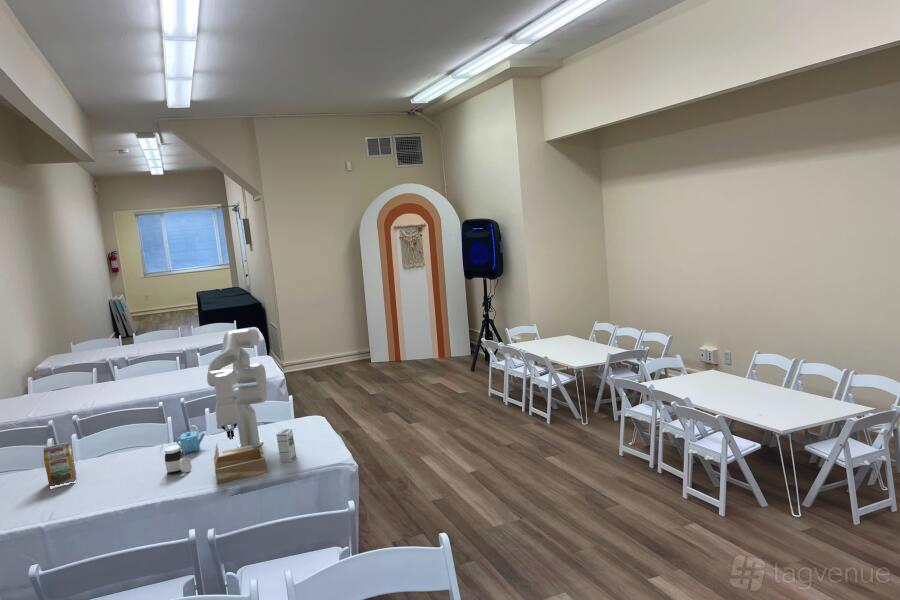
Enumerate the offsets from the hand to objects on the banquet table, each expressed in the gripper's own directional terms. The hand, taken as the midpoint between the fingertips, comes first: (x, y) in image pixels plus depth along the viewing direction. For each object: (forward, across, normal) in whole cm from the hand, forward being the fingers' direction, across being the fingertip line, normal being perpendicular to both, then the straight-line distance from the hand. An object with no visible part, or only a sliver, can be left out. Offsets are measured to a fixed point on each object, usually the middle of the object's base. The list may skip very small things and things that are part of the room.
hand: (231, 438), depth 299 cm
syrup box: (+17, -24, -3) cm, 30 cm away
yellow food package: (+17, +77, -39) cm, 88 cm away
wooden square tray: (+17, -2, -4) cm, 18 cm away
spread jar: (+17, +25, -20) cm, 36 cm away
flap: (+7, +7, -1) cm, 10 cm away
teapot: (+17, +19, -45) cm, 51 cm away
